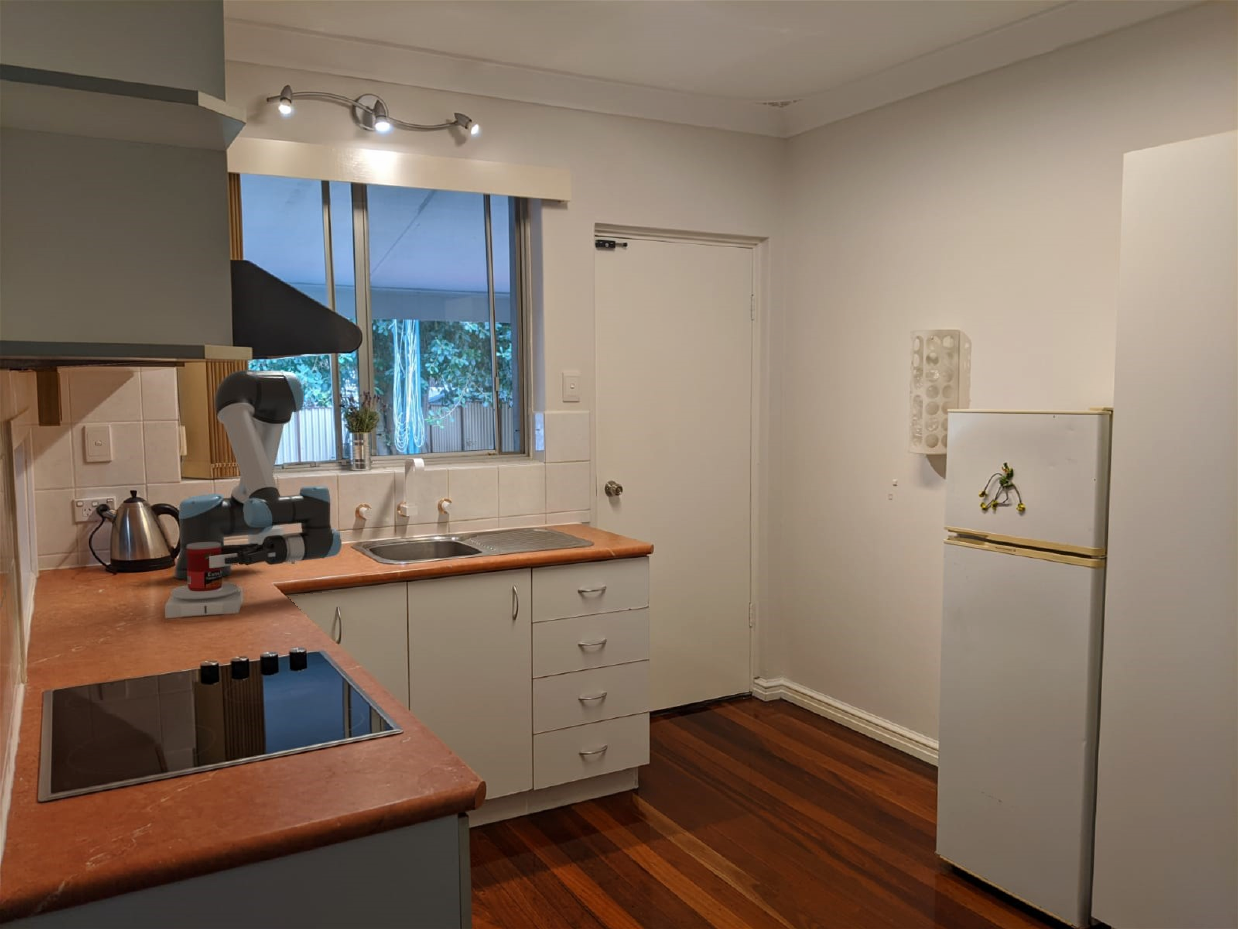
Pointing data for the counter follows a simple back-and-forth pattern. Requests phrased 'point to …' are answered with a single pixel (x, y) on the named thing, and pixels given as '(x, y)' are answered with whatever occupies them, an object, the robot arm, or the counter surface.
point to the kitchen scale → (204, 601)
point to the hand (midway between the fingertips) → (198, 558)
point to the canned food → (203, 566)
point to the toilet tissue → (265, 535)
